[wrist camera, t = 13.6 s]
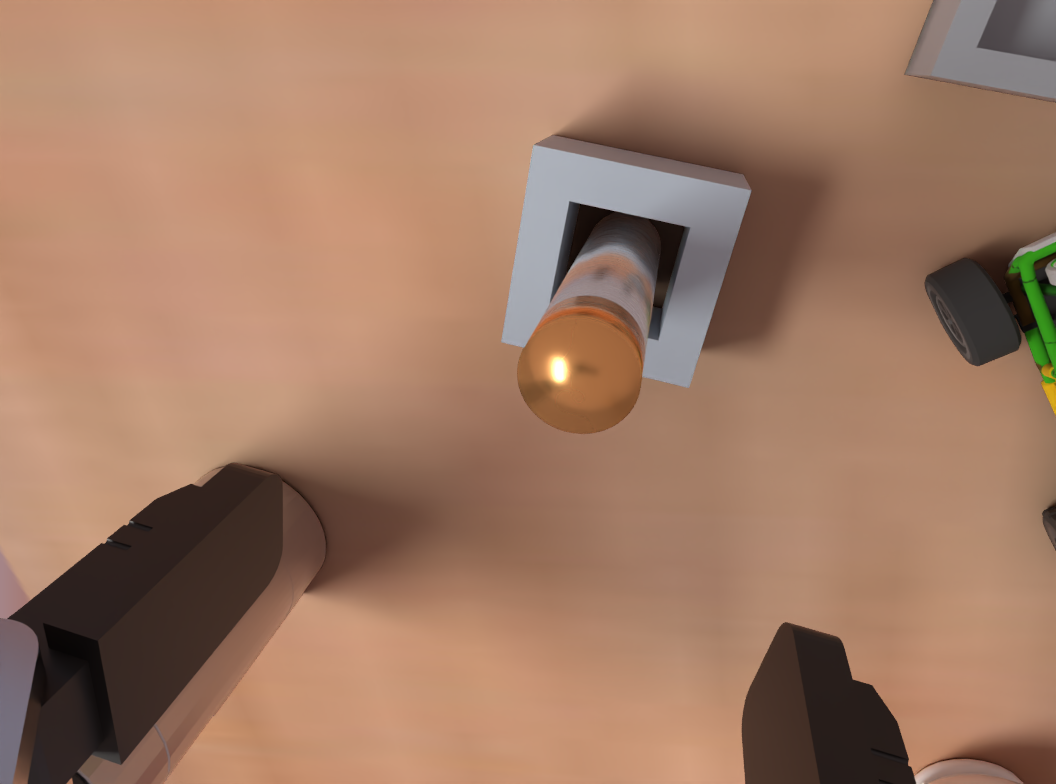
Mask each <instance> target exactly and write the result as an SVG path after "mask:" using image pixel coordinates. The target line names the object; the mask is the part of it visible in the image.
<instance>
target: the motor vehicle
mask: <svg viewBox="0 0 1056 784" xmlns="http://www.w3.org/2000/svg"><path fill="white" fill-rule="evenodd" d="M1008 267H1009V269H1008V271H1007V272H1006V274H1005V276H1004V280H1005V283H1006V285H1007V288H1008V291H1009V292H1006V293H1004V294H1002V293H1001V291H1000V290H999V288H998V287H997V285H996V284H995V282H994V281H993V280H992V278H991V277H990V276H989V274H988V273H987V272H986V271H985V270H984V268H983V267H982V266H981V265H980V264H978V263H977V262H976V261H974V260H971V259H968V258H963V259H961V260H959V261H957V262H955V263H953V264H951V265H948V266H946V267H944V268H942V269H940V270H938V271H936V272H934V273H932V274H930V275H928V276H927V277H926V280H925V288H926V291H927V294H928V296H929V299H930V301H931V303H932V305H933V307H934V309H935V311H936V313H937V315H938V318H939V320H940V322H941V324H942V325H943V327H944V329H945V331H946V332H947V334H948V336H949V337H950V339H951V340H952V342H953V344H954V345H955V346H956V348H957V349H958V351H959V352H960V353H961V355H962V356H963V357H964V358H965V360H966V361H968V362H969V363H970V364H972V365H975V366H980V365H983V364H985V363H988V362H990V361H992V360H995V359H997V358H1000V357H1002V356H1005V355H1007V354H1009V353H1012V352H1014V351H1017V350H1018V349H1019V346H1020V344H1021V335H1020V331H1019V328H1018V325H1017V323H1016V320H1015V318H1016V319H1017V321H1018V324H1019V326H1020V328H1021V330H1022V331H1023V333H1025V336H1026V339H1027V341H1028V344H1029V347H1030V350H1031V352H1032V355H1033V358H1034V360H1035V363H1036V365H1037V367H1038V369H1039V370H1040V373H1041V375H1042V377H1043V381H1042V382H1041V385H1042V387H1043V389H1044V391H1045V393H1046V396H1047V398H1048V400H1049V402H1050V404H1051V407H1052V409H1053V411H1054V413H1055V416H1056V232H1054V233H1052V234H1050V235H1048V236H1046V237H1044V238H1042V239H1039V240H1037V241H1035V242H1033V243H1031V244H1029V245H1027V246H1024V247H1022V248H1020V249H1019V251H1018V252H1017V254H1016V255H1015V256H1014V258H1013V259H1012V260H1011V262H1010V263H1009V265H1008ZM1010 302H1013V304H1014V307H1015V309H1016V312H1017V314H1016V315H1014V316H1013V313H1012V311H1011V309H1010V307H1009V305H1008V303H1010ZM1042 515H1043V524H1044V527H1045V529H1046V532H1047V534H1048V536H1049V538H1050V540H1051V542H1052V544H1053V546H1054V548H1055V550H1056V507H1053V508H1050V509H1047V510H1044V511H1043V513H1042Z"/></svg>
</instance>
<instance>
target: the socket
mask: <svg viewBox="0 0 1056 784" xmlns="http://www.w3.org/2000/svg"><path fill="white" fill-rule="evenodd" d="M751 191H752V190H751V188H750V186H749V184H748V182H747V180H746V179H745V177H744V175H743V174H739V173H734V172H730V171H725V170H720V169H715V168H710V167H705V166H700V165H696V164H691V163H686V162H681V161H676V160H671V159H667V158H662V157H657V156H652V155H647V154H642V153H638V152H633V151H628V150H623V149H618V148H613V147H609V146H604V145H599V144H594V143H589V142H584V141H579V140H575V139H570V138H565V137H560V136H555V135H552V136H550V137H548V138H546V139H544V140H542V141H540V142H538V143H536V144H534V145H533V150H532V156H531V163H530V169H529V175H528V181H527V187H526V193H525V199H524V206H523V212H522V218H521V224H520V230H519V236H518V243H517V249H516V255H515V261H514V267H513V273H512V279H511V286H510V292H509V298H508V304H507V310H506V316H505V323H504V329H503V335H502V341H501V342H503V343H507V344H511V345H515V346H519V347H523V348H524V347H525V345H526V344H527V342H528V340H529V339H530V337H531V335H532V333H533V332H534V330H535V328H536V327H537V325H538V323H539V321H540V320H541V318H542V316H543V315H544V313H545V311H546V309H547V308H548V306H549V304H550V303H551V301H552V299H553V297H554V296H555V294H556V292H557V290H558V289H559V287H560V285H561V284H562V282H563V280H564V278H565V276H566V271H567V266H568V261H569V256H570V251H571V246H572V241H573V236H574V231H575V226H576V221H577V216H578V211H579V206H580V204H585V205H590V206H594V207H599V208H603V209H608V210H613V211H617V212H622V213H626V214H631V215H636V216H640V217H645V218H649V219H654V220H659V221H663V222H668V223H672V224H677V225H682V226H685V228H684V232H683V235H682V239H681V242H680V246H679V249H678V253H677V257H676V260H675V264H674V267H673V271H672V275H671V278H670V282H669V285H668V289H667V293H666V296H665V300H664V303H663V307H662V309H661V308H657V307H652V314H651V320H650V327H649V334H648V341H647V347H646V354H645V361H644V368H643V374H642V377H646V378H650V379H654V380H658V381H662V382H666V383H670V384H674V385H679V386H683V387H687V388H689V386H690V383H691V380H692V377H693V374H694V370H695V367H696V364H697V361H698V358H699V355H700V352H701V348H702V345H703V342H704V339H705V336H706V333H707V329H708V326H709V323H710V320H711V317H712V314H713V311H714V307H715V304H716V301H717V298H718V295H719V292H720V289H721V285H722V282H723V279H724V276H725V273H726V270H727V266H728V263H729V260H730V257H731V254H732V251H733V248H734V244H735V241H736V238H737V235H738V232H739V229H740V226H741V222H742V219H743V216H744V213H745V210H746V207H747V203H748V200H749V197H750V194H751Z"/></svg>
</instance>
